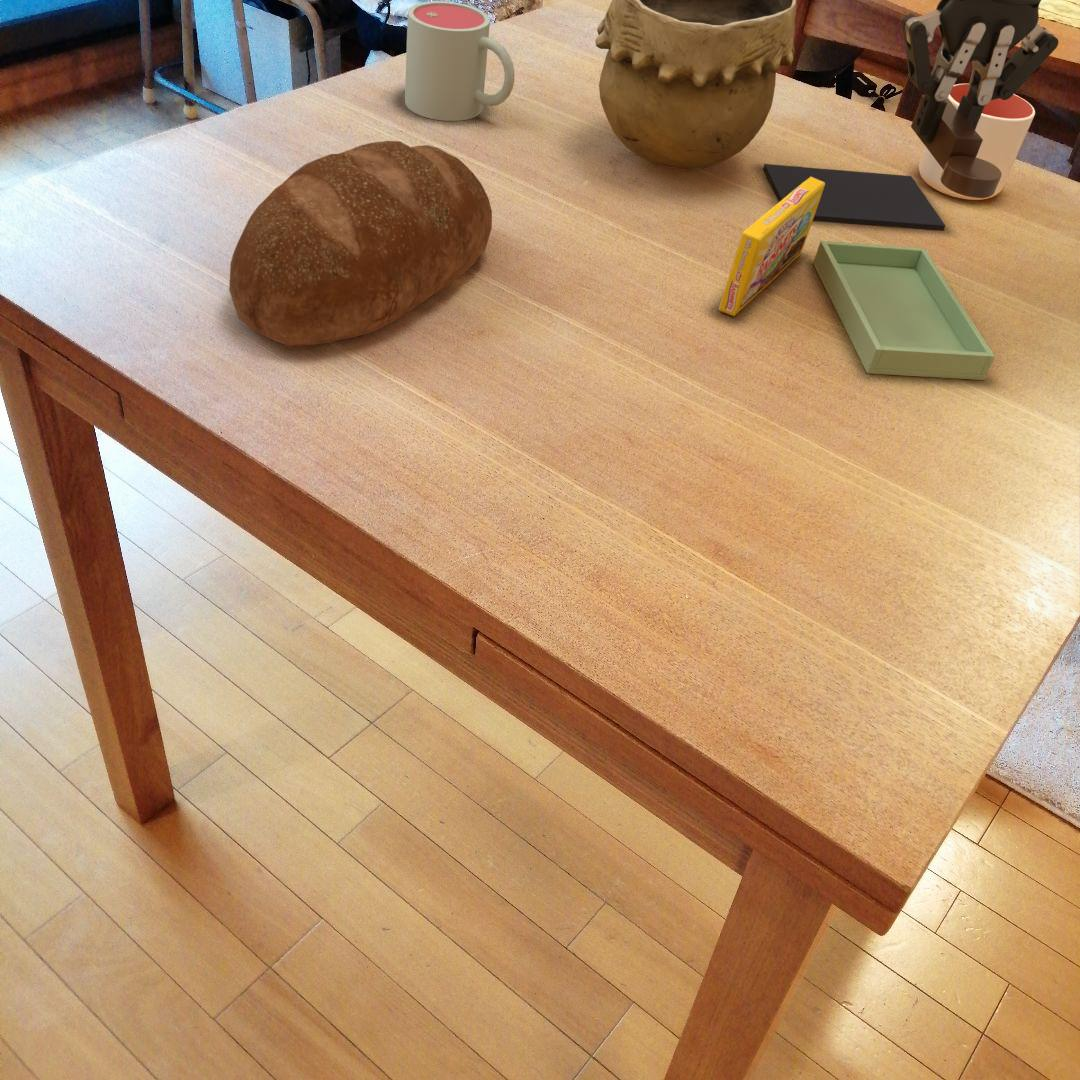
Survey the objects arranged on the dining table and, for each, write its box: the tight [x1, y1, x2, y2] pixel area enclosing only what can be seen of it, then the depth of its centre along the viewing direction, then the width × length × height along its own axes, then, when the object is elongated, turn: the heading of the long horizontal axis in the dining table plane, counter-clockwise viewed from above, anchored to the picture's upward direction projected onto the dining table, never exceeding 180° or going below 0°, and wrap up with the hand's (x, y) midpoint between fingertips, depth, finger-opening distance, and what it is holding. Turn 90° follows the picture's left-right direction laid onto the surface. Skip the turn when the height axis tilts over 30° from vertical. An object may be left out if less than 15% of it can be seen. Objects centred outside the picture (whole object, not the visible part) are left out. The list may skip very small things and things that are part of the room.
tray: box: [812, 240, 996, 381], centre depth 104 cm, size 11×19×3 cm, turn 4°
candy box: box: [718, 177, 825, 317], centre depth 104 cm, size 16×2×8 cm, turn 147°
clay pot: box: [594, 0, 797, 170], centre depth 118 cm, size 21×21×20 cm
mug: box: [404, 0, 515, 122], centre depth 125 cm, size 14×9×10 cm
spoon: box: [910, 94, 1002, 198], centre depth 95 cm, size 5×14×3 cm, turn 5°
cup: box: [918, 83, 1036, 201], centre depth 126 cm, size 10×10×10 cm
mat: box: [762, 163, 946, 231], centre depth 123 cm, size 18×12×1 cm, turn 94°
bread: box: [228, 140, 493, 347], centre depth 95 cm, size 16×29×11 cm, turn 149°
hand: (940, 139), depth 98 cm, fingers closed on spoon, 2 cm apart
